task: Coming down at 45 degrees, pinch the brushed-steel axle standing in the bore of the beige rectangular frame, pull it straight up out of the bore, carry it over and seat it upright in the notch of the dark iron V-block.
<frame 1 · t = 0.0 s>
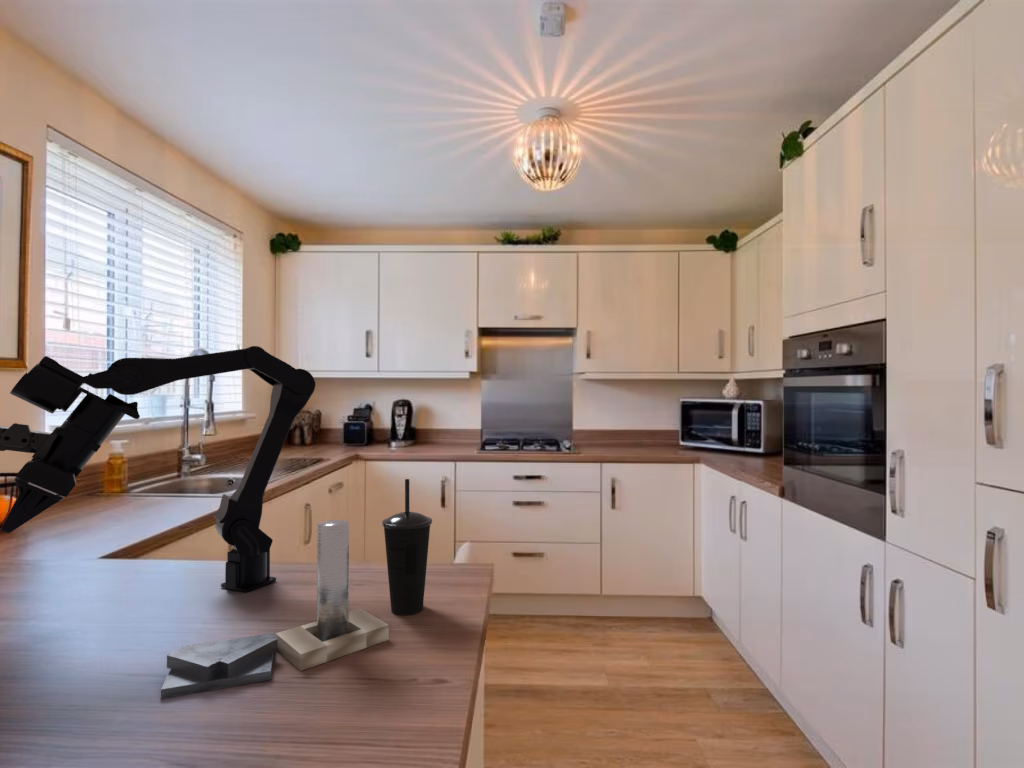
hand: (9, 525, 77), 15 cm above the countertop, tool tilted 35°, fingers open, 9 cm apart
drinking cup: (407, 610, 85), on the countertop
beige rectangular frame: (333, 644, 73), on the countertop
axle: (333, 583, 73), in the beige rectangular frame
v block: (224, 666, 67), on the countertop
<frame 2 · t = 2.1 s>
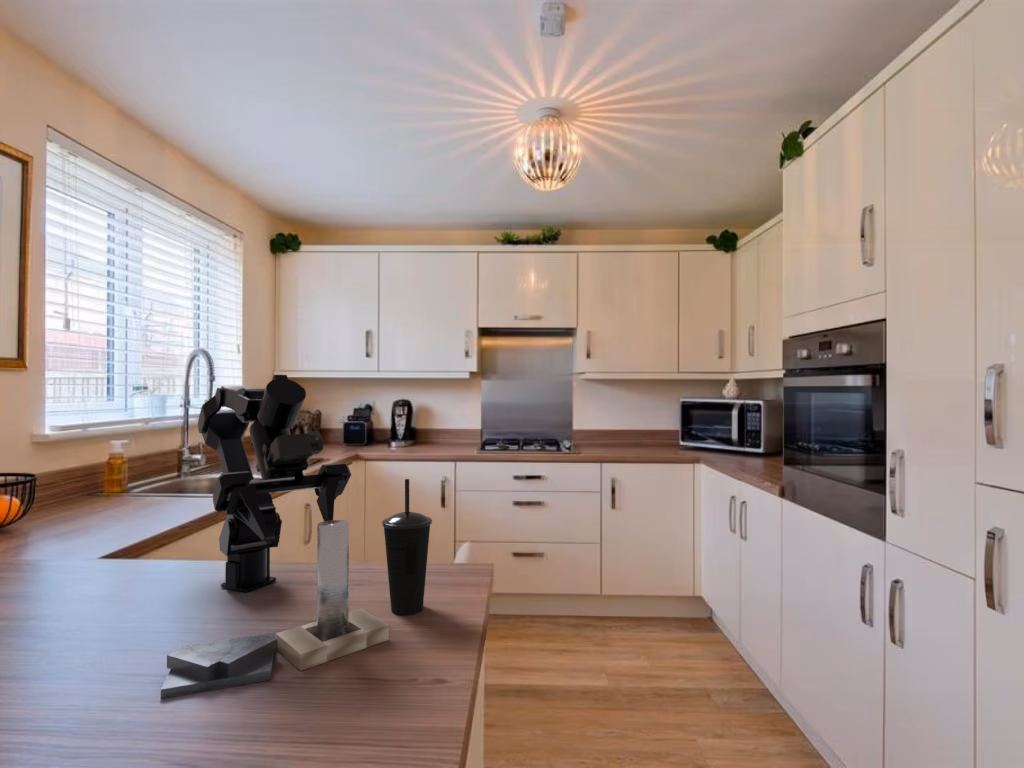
hand: (299, 532, 78), 14 cm above the countertop, tool tilted 45°, fingers open, 9 cm apart
nothing on the countertop moved.
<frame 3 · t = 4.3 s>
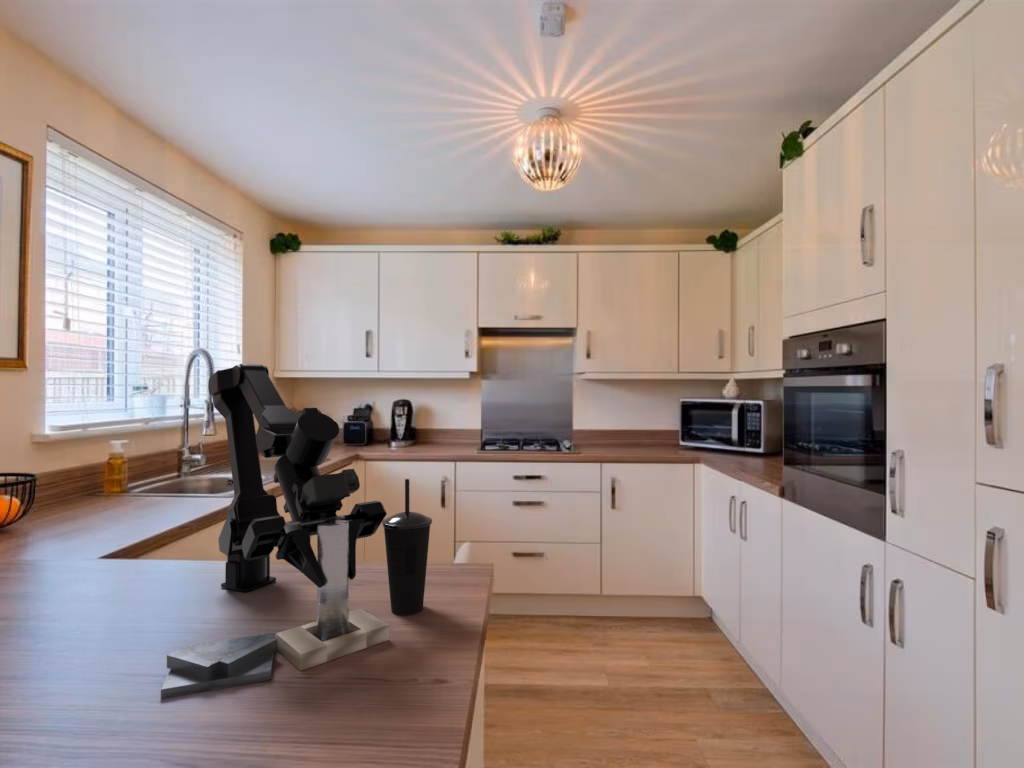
hand: (337, 581, 72), 9 cm above the countertop, tool tilted 45°, fingers closed on axle, 4 cm apart
axle: (333, 583, 73), in the beige rectangular frame, touching gripper
everything else where it was.
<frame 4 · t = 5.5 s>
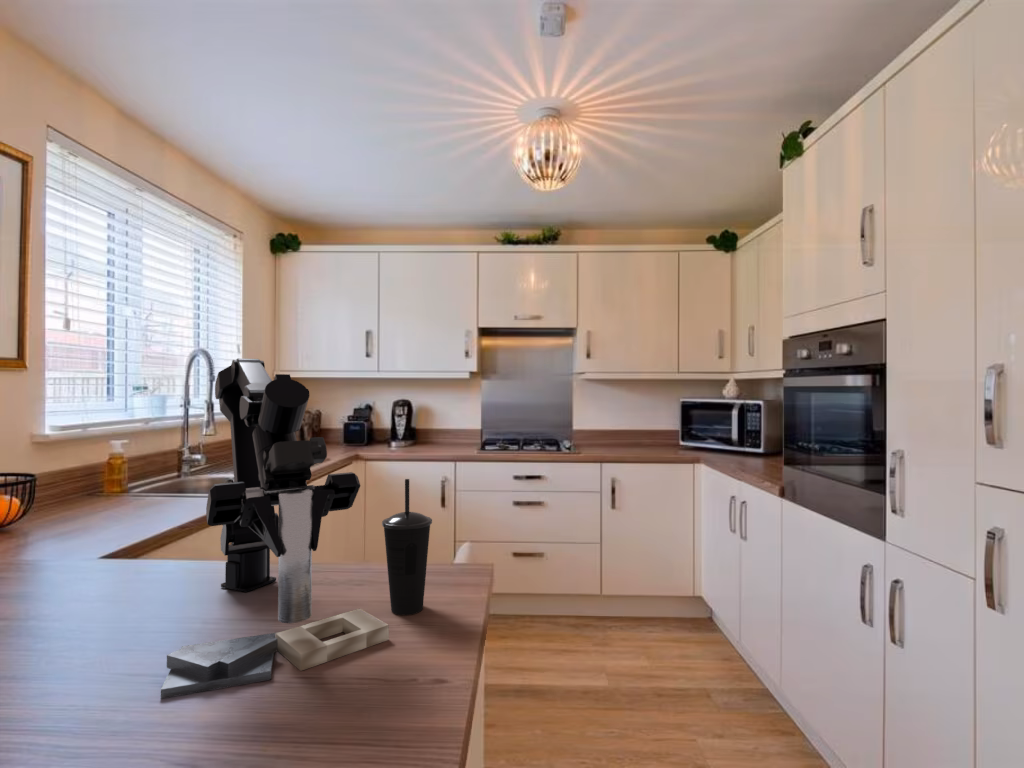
hand: (297, 552, 69), 13 cm above the countertop, tool tilted 45°, fingers closed on axle, 4 cm apart
axle: (295, 554, 70), point 13 cm above the countertop, touching gripper
everything else where it was.
when the fingers open (10 cm above the countertop, at t = 6.9 s): axle stays where it is, resting on v block.
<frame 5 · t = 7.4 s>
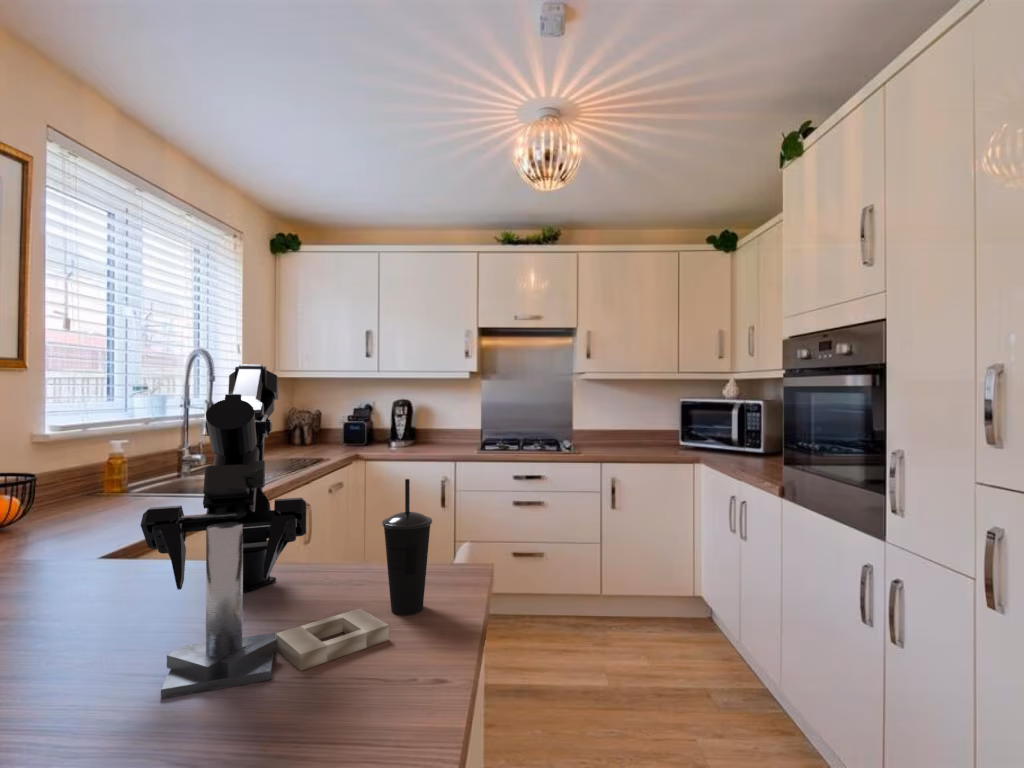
hand: (223, 583, 66), 11 cm above the countertop, tool tilted 45°, fingers open, 9 cm apart
axle: (224, 591, 67), point 9 cm above the countertop, touching v block
everything else where it was.
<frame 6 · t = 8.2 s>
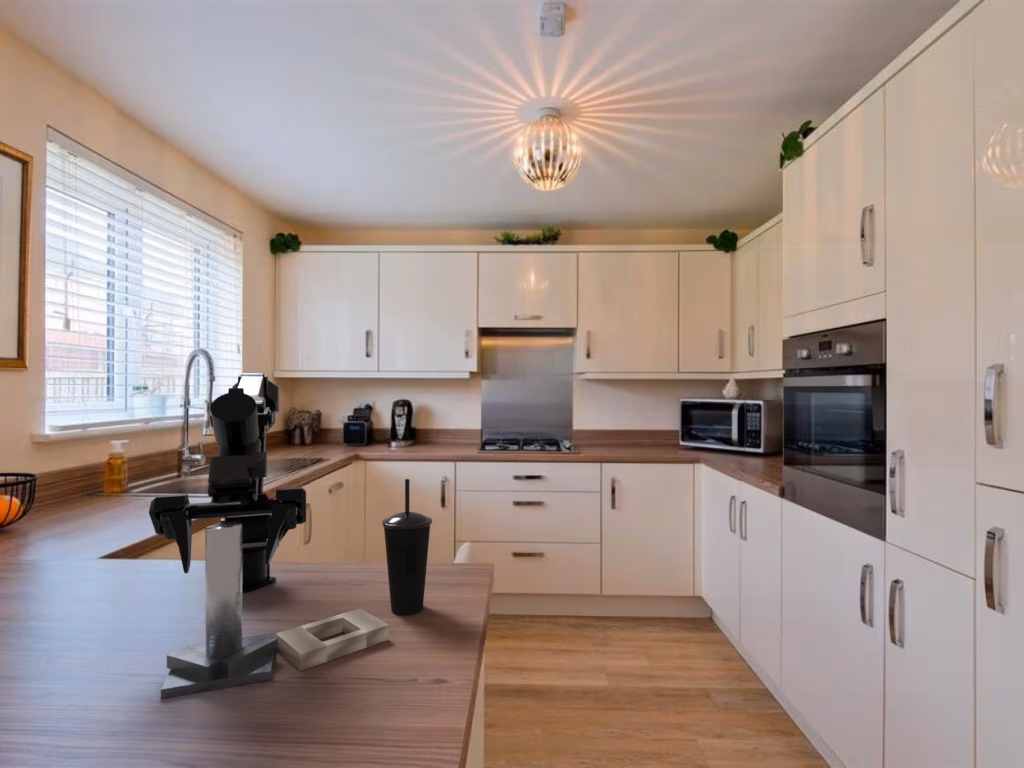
hand: (227, 567, 69), 11 cm above the countertop, tool tilted 45°, fingers open, 9 cm apart
nothing on the countertop moved.
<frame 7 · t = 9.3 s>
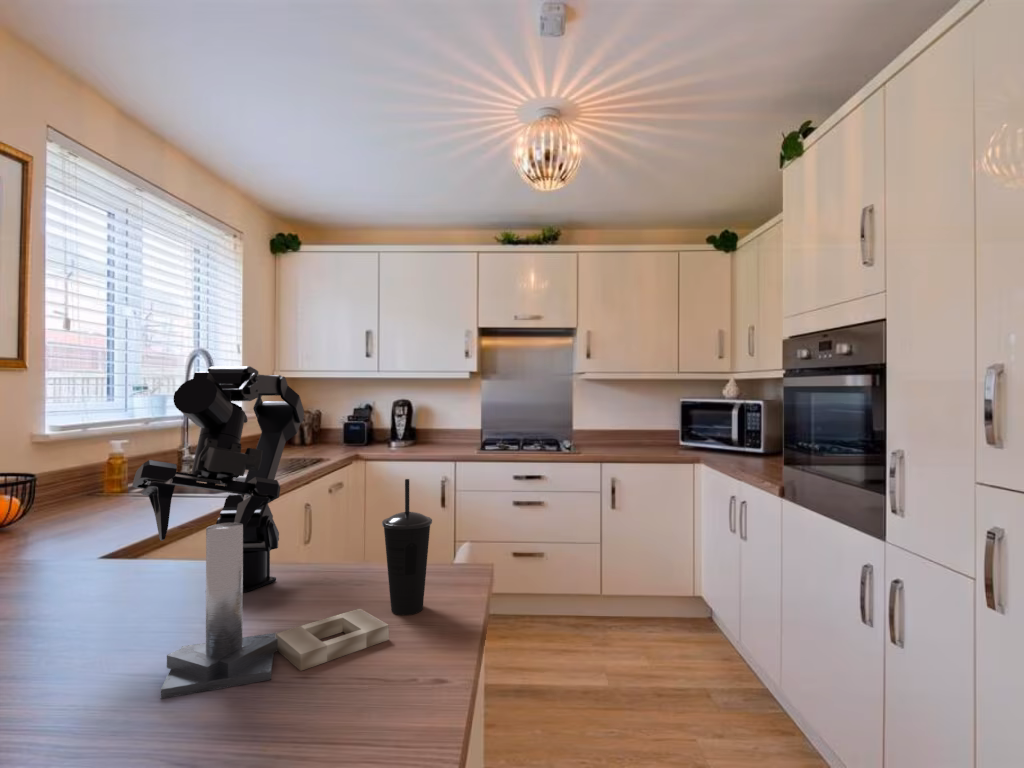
hand: (198, 543, 78), 12 cm above the countertop, tool tilted 25°, fingers open, 9 cm apart
nothing on the countertop moved.
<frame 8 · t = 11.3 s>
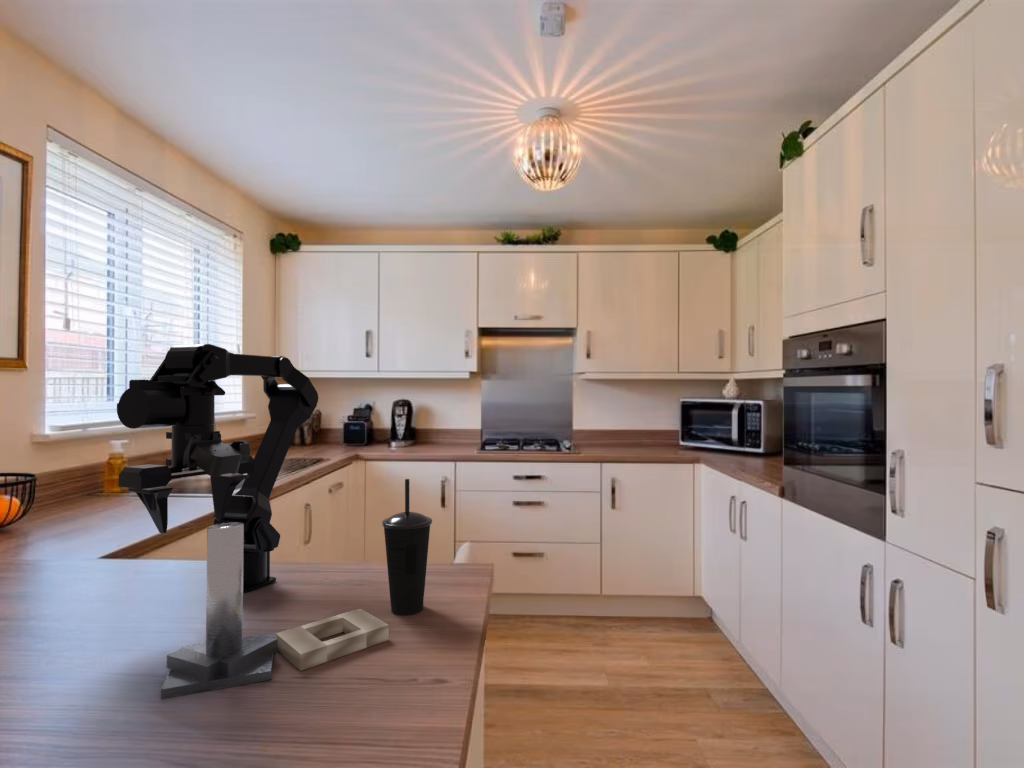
hand: (192, 526, 84), 13 cm above the countertop, tool pointing down, fingers open, 9 cm apart
nothing on the countertop moved.
at the end: axle 0.4 cm off-centre on the v block, point 9.0 cm above the v block's base; axle tilted 0°; the gripper is holding nothing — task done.
